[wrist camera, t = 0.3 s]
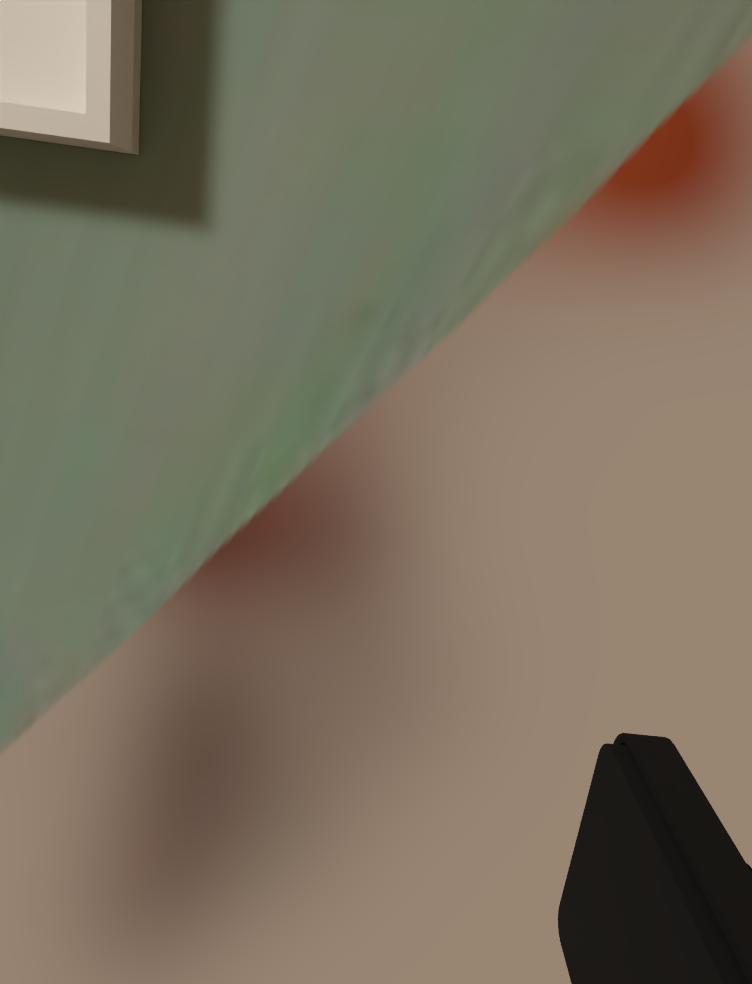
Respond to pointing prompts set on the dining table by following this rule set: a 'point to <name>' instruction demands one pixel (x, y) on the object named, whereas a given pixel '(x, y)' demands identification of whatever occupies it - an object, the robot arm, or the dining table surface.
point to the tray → (71, 72)
